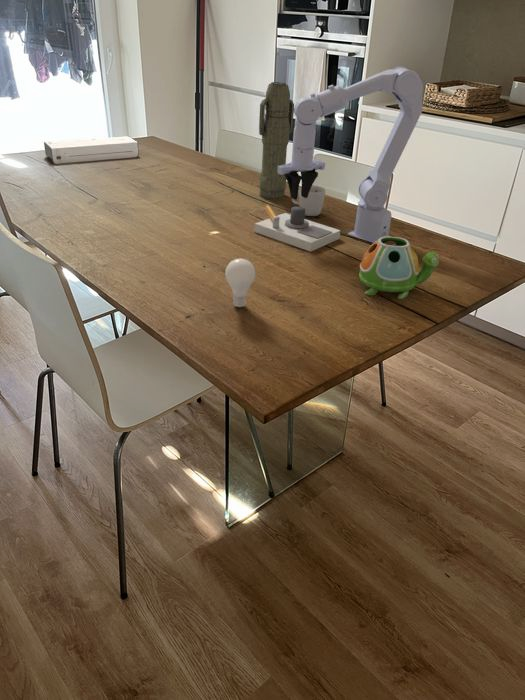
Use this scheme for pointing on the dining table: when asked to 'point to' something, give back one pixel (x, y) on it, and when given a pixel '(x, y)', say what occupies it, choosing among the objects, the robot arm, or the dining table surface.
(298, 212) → the plug
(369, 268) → the turtle holder
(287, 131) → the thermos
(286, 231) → the socket board
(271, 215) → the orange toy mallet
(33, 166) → the dining table surface
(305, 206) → the cup
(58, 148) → the laminator
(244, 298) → the lightbulb
